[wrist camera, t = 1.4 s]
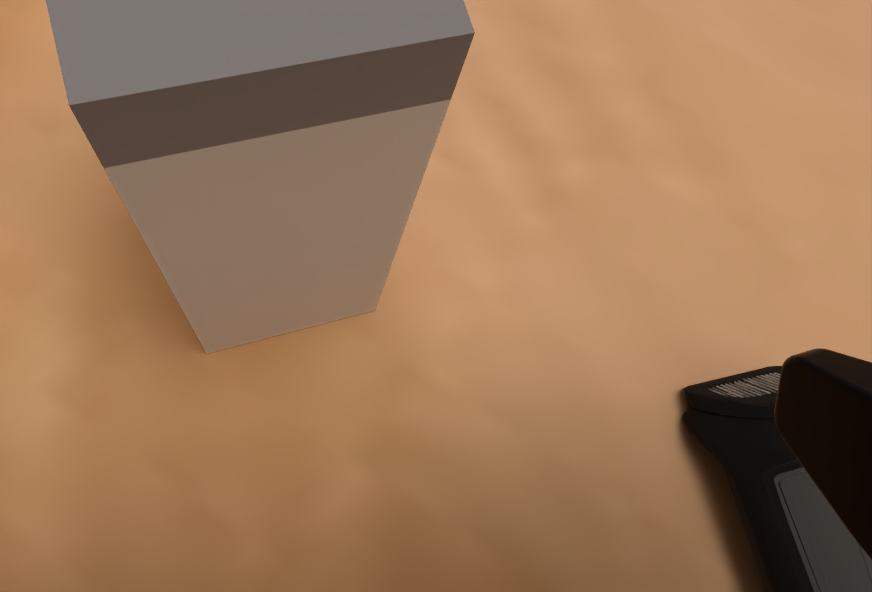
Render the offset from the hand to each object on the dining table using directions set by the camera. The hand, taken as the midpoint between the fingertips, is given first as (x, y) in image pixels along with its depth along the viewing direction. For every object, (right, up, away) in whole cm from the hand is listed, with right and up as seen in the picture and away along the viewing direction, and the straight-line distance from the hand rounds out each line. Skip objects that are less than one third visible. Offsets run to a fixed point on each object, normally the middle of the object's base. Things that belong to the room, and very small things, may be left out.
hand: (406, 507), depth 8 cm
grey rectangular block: (-4, +3, +13) cm, 14 cm away
